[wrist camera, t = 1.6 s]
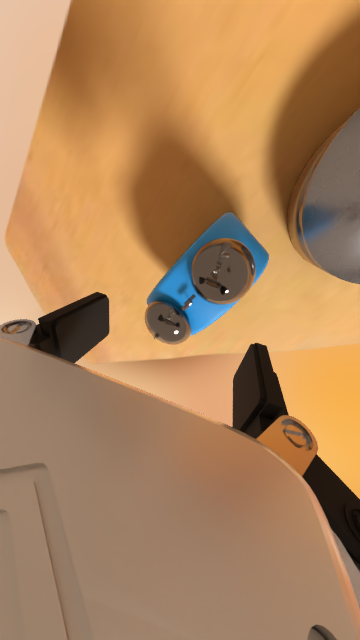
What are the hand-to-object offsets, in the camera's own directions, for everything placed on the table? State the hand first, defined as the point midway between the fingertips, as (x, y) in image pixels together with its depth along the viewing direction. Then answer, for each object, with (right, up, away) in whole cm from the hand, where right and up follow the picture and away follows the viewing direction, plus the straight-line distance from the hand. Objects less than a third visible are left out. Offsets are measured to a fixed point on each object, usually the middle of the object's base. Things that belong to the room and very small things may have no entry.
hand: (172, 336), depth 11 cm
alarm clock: (+5, +9, +15) cm, 18 cm away
